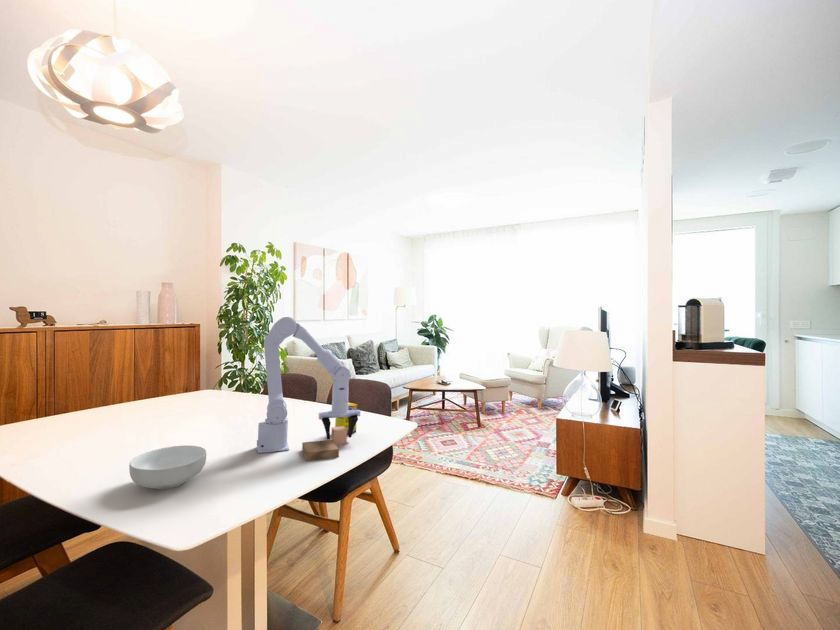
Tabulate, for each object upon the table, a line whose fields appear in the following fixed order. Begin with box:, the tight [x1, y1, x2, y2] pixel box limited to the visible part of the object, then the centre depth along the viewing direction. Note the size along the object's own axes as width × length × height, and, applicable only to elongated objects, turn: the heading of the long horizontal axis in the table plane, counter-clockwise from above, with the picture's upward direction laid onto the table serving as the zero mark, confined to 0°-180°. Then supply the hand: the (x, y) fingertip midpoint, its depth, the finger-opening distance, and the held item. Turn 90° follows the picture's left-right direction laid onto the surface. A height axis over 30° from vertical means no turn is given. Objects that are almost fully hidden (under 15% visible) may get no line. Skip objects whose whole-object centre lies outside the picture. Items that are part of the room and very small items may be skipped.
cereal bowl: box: [128, 445, 207, 490], centre depth 98 cm, size 17×17×7 cm
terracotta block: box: [330, 426, 348, 446], centre depth 134 cm, size 4×4×5 cm
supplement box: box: [334, 401, 358, 435], centre depth 146 cm, size 6×6×11 cm
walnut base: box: [301, 439, 340, 462], centre depth 122 cm, size 10×10×2 cm
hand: (339, 437), depth 134 cm, fingers open, 7 cm apart
